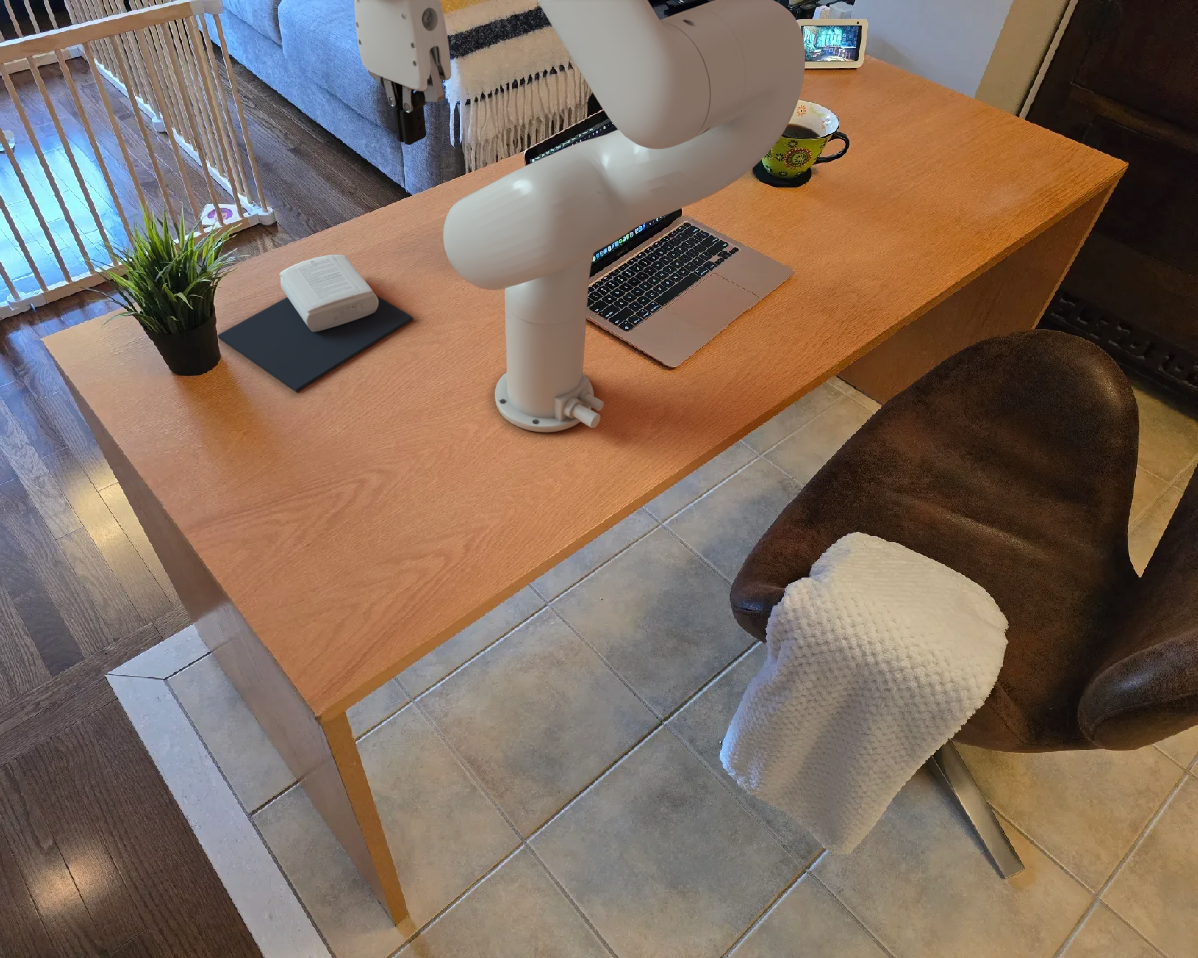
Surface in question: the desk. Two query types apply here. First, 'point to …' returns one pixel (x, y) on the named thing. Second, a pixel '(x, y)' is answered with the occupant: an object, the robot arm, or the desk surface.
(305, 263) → the photo printer
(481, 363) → the desk surface
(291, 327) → the desk mat
